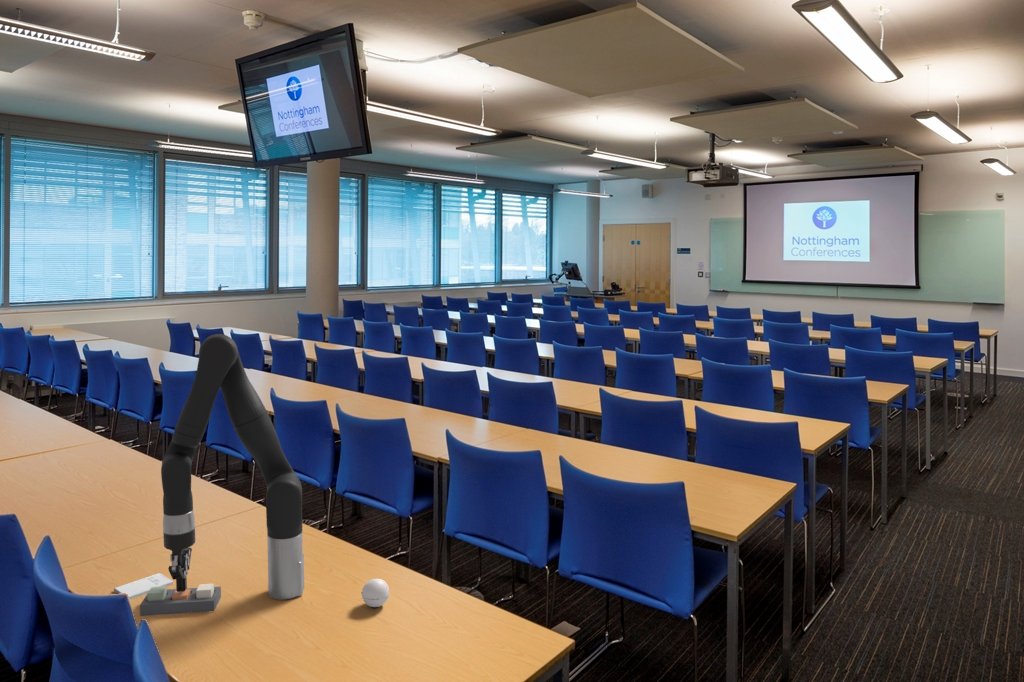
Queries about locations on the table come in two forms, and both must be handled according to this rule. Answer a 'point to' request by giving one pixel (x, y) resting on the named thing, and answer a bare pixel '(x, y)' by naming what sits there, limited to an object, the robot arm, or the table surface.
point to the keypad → (180, 604)
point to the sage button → (157, 593)
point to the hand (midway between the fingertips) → (181, 590)
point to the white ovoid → (375, 592)
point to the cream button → (205, 591)
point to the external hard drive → (143, 585)
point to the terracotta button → (181, 595)
